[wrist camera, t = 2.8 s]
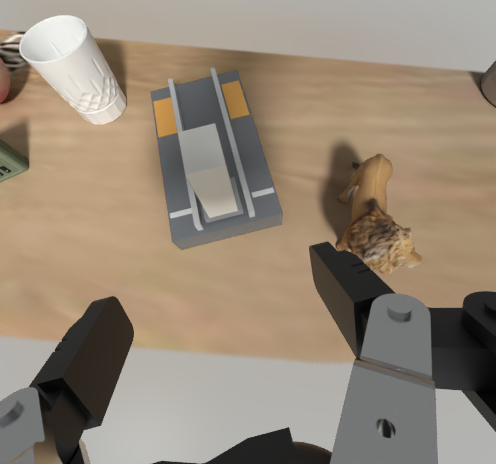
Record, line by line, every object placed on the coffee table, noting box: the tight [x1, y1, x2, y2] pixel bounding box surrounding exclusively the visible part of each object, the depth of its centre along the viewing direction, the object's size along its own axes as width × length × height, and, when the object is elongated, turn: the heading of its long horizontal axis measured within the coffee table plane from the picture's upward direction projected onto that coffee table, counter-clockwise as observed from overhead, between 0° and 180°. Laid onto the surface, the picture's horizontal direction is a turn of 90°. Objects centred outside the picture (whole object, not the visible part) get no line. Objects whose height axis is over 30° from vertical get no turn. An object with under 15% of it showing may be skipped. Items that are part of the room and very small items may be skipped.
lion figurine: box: [337, 154, 423, 274], centre depth 25 cm, size 15×5×9 cm, turn 177°
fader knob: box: [178, 123, 244, 223], centre depth 24 cm, size 4×4×9 cm
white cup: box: [19, 15, 126, 125], centre depth 34 cm, size 8×8×10 cm
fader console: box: [151, 68, 283, 250], centre depth 32 cm, size 12×22×4 cm, turn 14°
